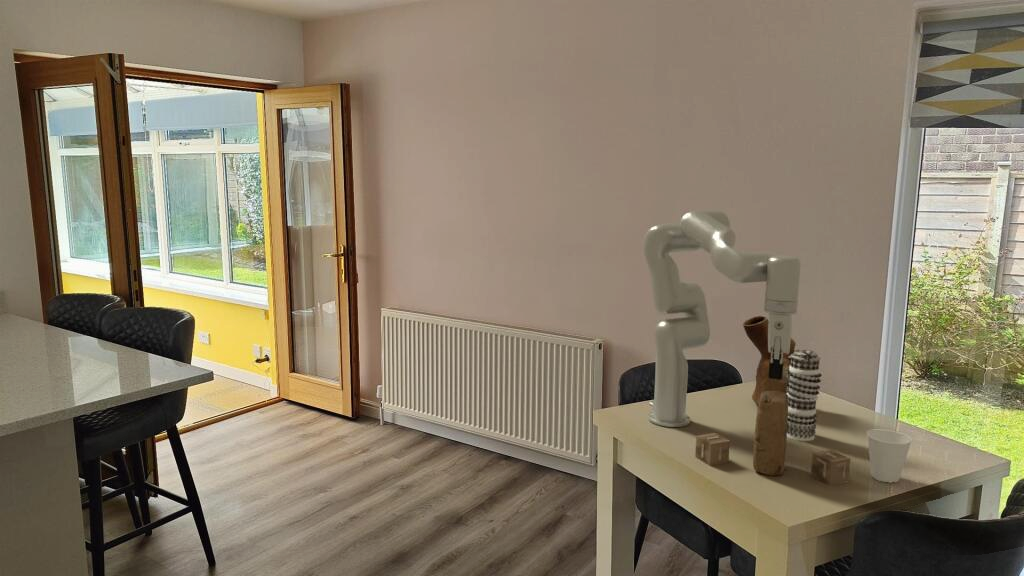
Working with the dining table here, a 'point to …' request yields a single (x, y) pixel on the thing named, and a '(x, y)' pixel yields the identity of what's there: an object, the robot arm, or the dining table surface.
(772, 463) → the block
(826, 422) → the dining table surface
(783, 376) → the ceramic vessel
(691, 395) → the dining table surface
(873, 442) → the cup
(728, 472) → the dining table surface
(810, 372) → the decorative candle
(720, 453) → the walnut cube
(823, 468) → the walnut cube
